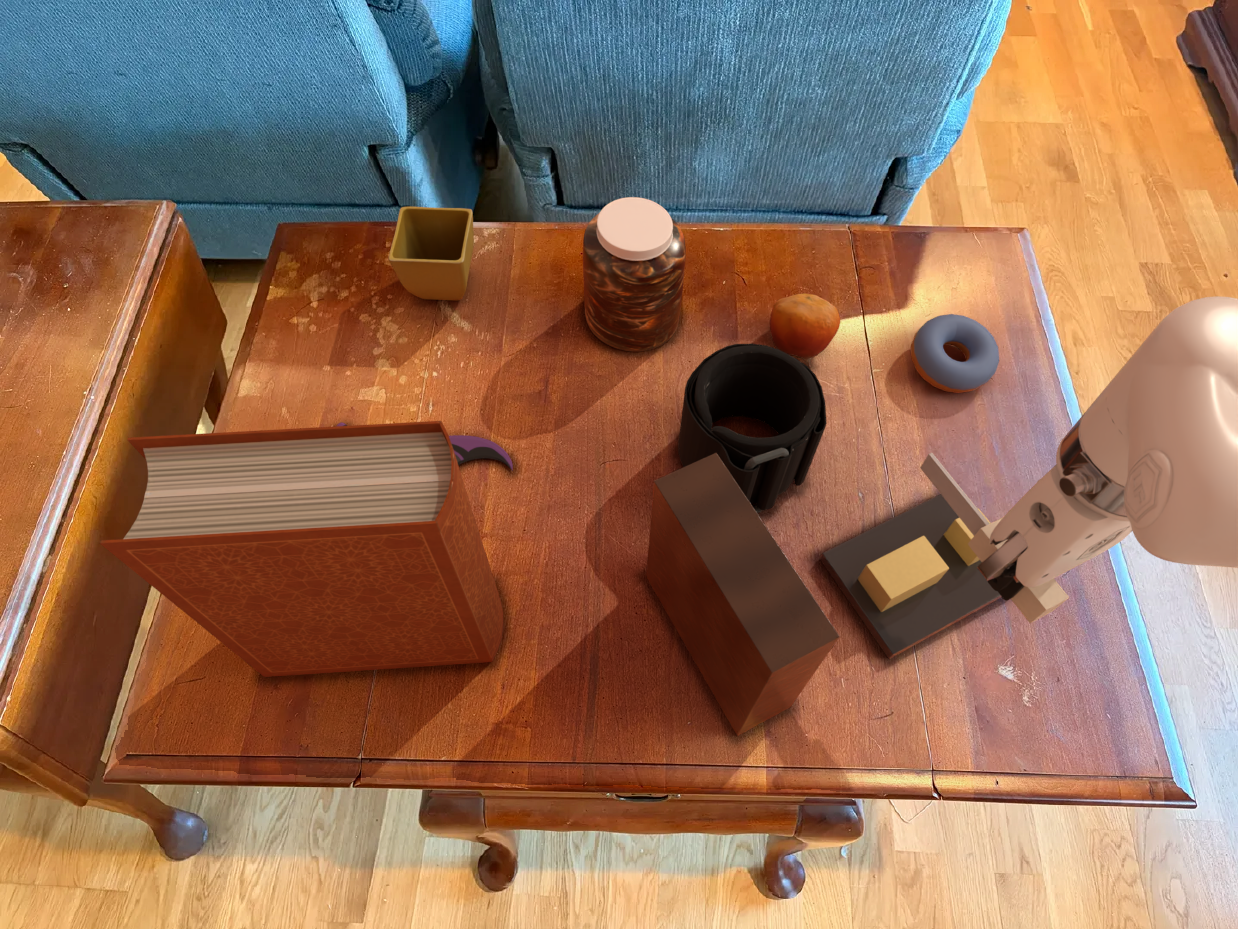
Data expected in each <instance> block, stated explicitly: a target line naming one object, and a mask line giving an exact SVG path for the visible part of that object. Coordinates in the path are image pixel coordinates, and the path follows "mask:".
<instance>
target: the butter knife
mask: <svg viewBox="0 0 1238 929" xmlns="http://www.w3.org/2000/svg"><path fill="white" fill-rule="evenodd" d="M919 468H920V470H921V471H922V472H923V474H924V475H925V476H926V477H927V479H928V480H929V481H930V483H931V484H932V485H933V486H934V488H935V489H936V490H937V491H938V493H939V494H941V495H942V496H943V497H944V499H945V500H946V501H947V502H948V504H949V505H950V506H951V507H952V509H953V510H954V511H955V513H956V514H957V515H958V516H959V518H960V519H961V520H962V521H963V523H964V524H965V525H966V526H967V528H968V529H969V530H970V531H971V533H972V534H973V535H974V537H973V538H972V539H971V541H970V542H969V543H968V545H969V546H970V548H971V549H972V550H973V552H974V553H975V554H976V555H977V557H978V558H979V559H980V560H981V562H983V561H984V560H986V559H987V558H988V557H989V556H990V555H992V554H993V553H994V552H995V551H997V550H998V549H999V548H1000V547H1001V546H1002V545H1003V544H1004V543H1005V542H1006V541H1007V540H1008V539H1007V540H1005V541H1003V542H1001V543H999V544H997V545H994V544H990V536H991V533H992V532H993V530H994V528H995V527H996V526H997V524H998V523H999V522H1000V521H1001V520H1002V518H1003V517H1004V516H1003V517H1001V518H998V519H996V520H995V521H992V522H990V521H989V522H990V523H989V522H988V521H987V520H986V518H987V517H986V516H985V515H984V516H985V517H986V518H985V517H984V516H983V515H982V513H983V512H982V511H981V510H980V509H979V510H980V511H981V512H982V513H981V512H980V511H979V510H978V509H977V508H978V507H977V506H976V504H975V503H973V502H974V501H972V500H971V498H970V497H969V496H968V495H967V494H966V492H965V491H964V490H963V489H962V487H961V486H960V485H959V484H958V482H957V481H956V480H955V479H954V478H953V476H952V475H951V473H950V472H948V470H947V469H946V467H944V465H943V464H942V463H941V462H940V460H939V459H938V458H937V456H936V455H935V454H934V453H933V452H929V453H928V454H927V456H926V457H925V459H924V461H923V462H922V464H921V465H920V467H919ZM1068 599H1070V596H1069V595H1068V593H1067V592H1065V590H1064V589H1063V588H1062V587H1061V585H1060V584H1059V583H1058V582H1057V580H1056V579H1055V578H1054V579H1052V580H1050V581H1048V582H1046V583H1044V584H1041V585H1039V586H1036V587H1026V586H1024V587H1023V588H1022V589H1021V590H1020V591H1019V592H1018V593H1017V594H1016V595H1015V596H1014V597H1013V598H1011V599H1010V600H1011V601H1012V602H1013V604H1014V605H1015V607H1016V608H1017V609H1018V610H1019V612H1020V613H1021V614H1022V615H1023V617H1024V618H1025V619H1026V620H1027V622H1028V623H1029V624H1032V623H1034V622H1037V621H1038V620H1041V619H1042V618H1043V617H1045V616H1047V615H1049V614H1051V613H1053V612H1054V611H1055V610H1056V609H1058V607H1060V606H1062V605H1063V604H1064V603H1066V601H1068Z"/></svg>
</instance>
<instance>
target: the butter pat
mask: <svg viewBox="0 0 1238 929" xmlns="http://www.w3.org/2000/svg"><path fill="white" fill-rule="evenodd" d="M977 509H978V510H979V511H980V512H981V513H982V515H983V516H984V517H985V518H986V520H987V521H988V522H989V523H991V521H990V520H989V519H988V518H987V516H986V515H985V514H984V513H983V512H982V511H981V510H980V508H979V507H977ZM944 536H945V538H946V539H947V540H948V541H949V543H950V544H951V545H952V546H953V548H954V549H955V550H956V551H957V553H958V554H959V555H960V557H961V558H962V559H963V560H964V562H965V563H966V564H967V565H968V566H969V565H971V564H973V563H975V562H977V561H979V560H980V559H979V558H978V557H977V555H976V554H975V553H974V552H973V550H972V549H971V548H970V546H969V545H968V543H969V542H970V541H971V539H972V538H973V537H974V535H973V534H972V533H971V531H970V530H969V529H968V528H967V526H966V525H965V524H964V523H963V521H962V520H961V519H960V518H957V519H955V520H954V522H953V523H952V524H951V526H950V527H949V528H948V530H947V531H946V532H945V533H944Z"/></svg>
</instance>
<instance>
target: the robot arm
mask: <svg viewBox="0 0 1238 929" xmlns="http://www.w3.org/2000/svg"><path fill="white" fill-rule="evenodd" d="M1001 518H1002V517H1001ZM1131 533H1133V535H1134V536H1133V537H1135V539H1136V541H1137V543H1138V544H1139V545H1140V546H1141V547H1142V548H1143V549H1144V550H1145V551H1146V552H1148V553H1149V554H1150V555H1152V556H1153V557H1155V558H1158V559H1160V560H1162V561H1166V562H1170V563H1175V564H1179V565H1181V564H1182V565H1188V566H1202V567H1203V566H1204V567H1219V568H1231V569H1233V568H1234V569H1238V298H1236V297H1230V296H1218V295H1217V296H1207V297H1206V296H1205V297H1201V298H1196V299H1192V300H1190V301H1187V302H1186V303H1183V304H1181V305H1179V306H1177V307H1175V308H1174V309H1173V310H1171V311H1170V312H1169V313H1168V314H1167V315H1165V316H1164V317H1163V318H1162V319H1161V320H1160V322H1158V324H1157V325H1156V326H1155V328H1154V329H1152V331H1151V332H1150V333H1149V335H1148V336H1147V337H1146V338H1145V339H1144V341H1143V342H1142V343H1141V344H1140V345H1139V347H1138V348H1136V350H1135V351H1134V352H1133V354H1132V355H1131V356H1130V357H1129V359H1128V360H1127V361H1126V362H1125V363H1124V365H1123V366H1122V367H1121V368H1120V369H1119V370H1118V372H1117V373H1116V374H1115V376H1113V377H1112V379H1111V381H1109V382H1108V384H1107V385H1106V387H1104V389H1103V390H1102V391H1101V392H1100V393H1099V395H1098V396H1097V397H1096V398H1095V400H1094V401H1093V402H1091V404H1090V405H1089V406H1088V408H1087V409H1086V411H1085V412H1084V413H1083V414H1082V415H1081V416H1080V418H1079V419H1078V420H1077V421H1076V423H1075V424H1074V425H1073V426H1072V427H1071V428H1070V430H1069V431H1068V432H1067V434H1065V435H1064V437H1063V438H1062V439H1061V441H1060V442H1059V444H1058V447H1057V449H1056V454H1055V465H1053V467H1052V468H1050V470H1049V471H1047V472H1046V473H1045V474H1044V475H1042V477H1041V478H1040V479H1038V480H1037V482H1036V483H1035V484H1034V485H1032V487H1031V488H1030V489H1029V490H1028V491H1026V493H1024V495H1023V496H1022V497H1021V498H1020V499H1019V500H1017V502H1016V503H1015V504H1014V505H1013V506H1012V507H1011V508H1010V509H1009V510H1008V512H1006V514H1005V515H1004V516H1003V518H1002V520H1001V521H1000V522H999V523H998V524H997V526H996V527H995V528H994V530H993V532H992V533H991V536H990V544H994V545H997V544H999V543H1001V542H1003V541H1005V540H1007V539H1008V540H1007V541H1006V542H1005V543H1004V544H1003V545H1002V546H1001V547H1000V548H999V549H998V550H997V551H995V552H994V553H993V554H992V555H990V556H989V557H988V558H987V559H986V560H984V561H983V562H982V563H981V564H980V565H978V566H977V568H978V570H979V571H980V572H981V573H982V575H983V576H984V577H985V578H986V580H987V582H988V583H989V584H990V586H991V587H992V588H993V589H994V590H995V591H998V593H999V594H1000V595H1001V596H1002V597H1001V598H1002V599H1003V600H1004V601H1006V602H1007V601H1010V600H1011V598H1013V597H1014V596H1015V595H1016V594H1017V593H1018V592H1019V591H1020V590H1021V589H1022V588H1023V587H1024V586H1026V587H1036V586H1039V585H1041V584H1044V583H1046V582H1048V581H1050V580H1052V579H1055V578H1058V577H1059V576H1062V575H1064V574H1065V573H1068V571H1071V570H1073V569H1075V568H1076V567H1079V566H1080V565H1083V564H1085V563H1086V562H1088V561H1090V560H1092V559H1094V558H1095V557H1098V556H1099V555H1101V554H1104V553H1105V552H1106V551H1108V550H1110V549H1112V548H1113V547H1115V546H1116V545H1118V544H1120V543H1121V542H1122V541H1124V539H1126V538H1127V537H1128V536H1129V535H1130V534H1131Z"/></svg>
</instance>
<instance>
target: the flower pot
mask: <svg viewBox="0 0 1238 929" xmlns="http://www.w3.org/2000/svg"><path fill="white" fill-rule="evenodd" d="M473 214H474V213H473V210H472V209H471V208H463V207H429V206H426V207H425V206H401V207H400V209H399V211H398V216H397V222H396V227H395V232H394V236H393V239H392V241H391V246H390V250H389V253H388V262H389V263H390V265H391V267H392V268H393V271H394V272H395V275H396V277H397V278H398V281H399V282H400V284H401V285H402V287H403V288H404V289H405V290H406V291H407V292H408V293H410V294H411V295H413V296H415V297H417V298H419V299H422V300H433V301H435V300H436V301H437V300H438V301H461V300H462V299H463V298H464V296H465V294H466V291H467V286H468V281H469V274H470V268H471V263H472V258H473V254H474V253H473V252H474V246H475V245H474V244H475V235H474V234H475V232H474V215H473Z"/></svg>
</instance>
